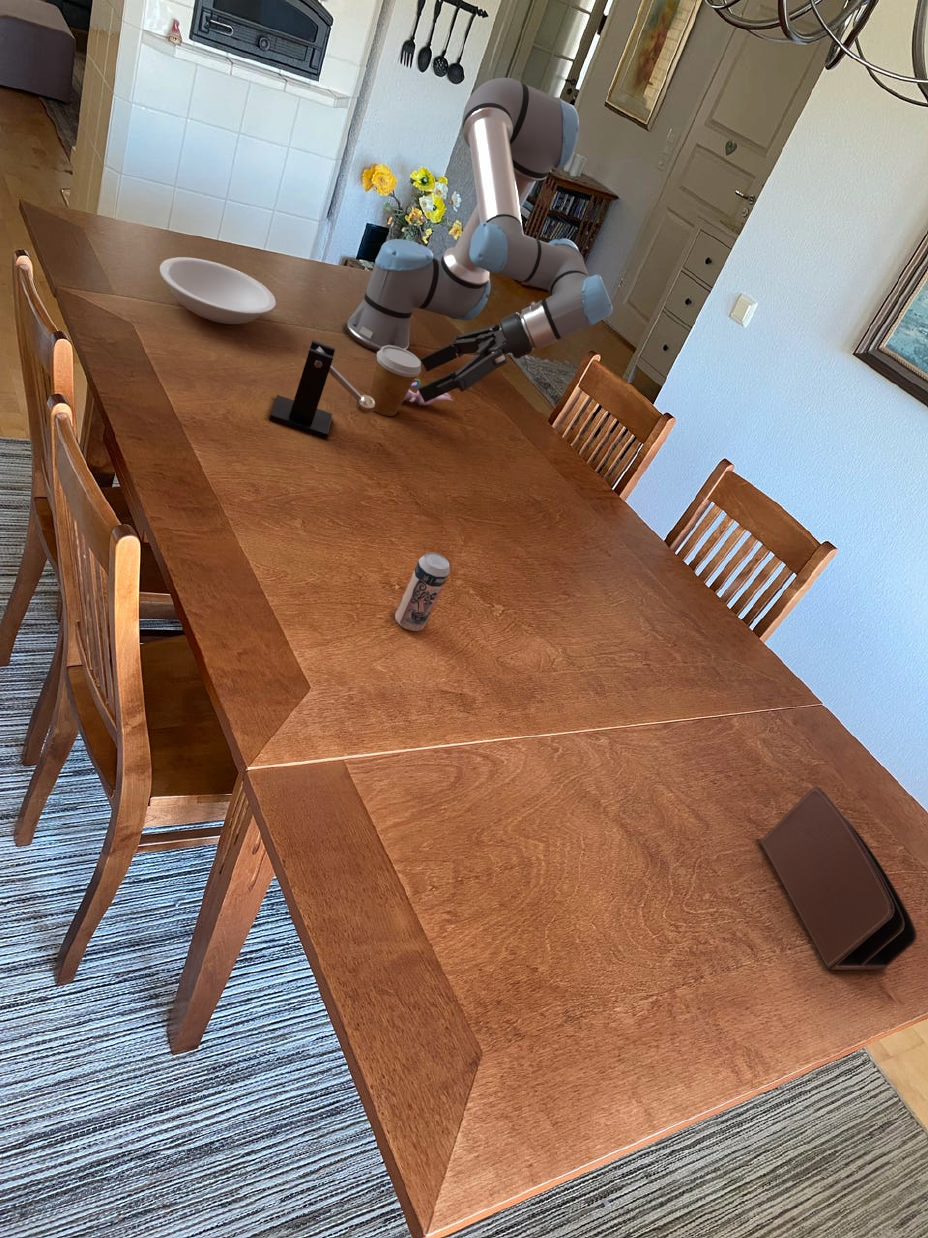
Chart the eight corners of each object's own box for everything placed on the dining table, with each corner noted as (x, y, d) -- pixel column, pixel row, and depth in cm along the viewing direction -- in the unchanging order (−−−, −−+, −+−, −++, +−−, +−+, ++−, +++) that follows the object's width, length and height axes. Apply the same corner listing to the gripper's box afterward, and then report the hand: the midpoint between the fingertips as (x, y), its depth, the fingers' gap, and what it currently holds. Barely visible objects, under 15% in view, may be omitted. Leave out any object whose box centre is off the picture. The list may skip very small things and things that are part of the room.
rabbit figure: (388, 409, 197) (454, 413, 203) (393, 384, 194) (460, 388, 199) (382, 395, 202) (446, 398, 207) (386, 370, 198) (452, 374, 203)
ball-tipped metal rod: (366, 412, 177) (379, 401, 176) (364, 421, 175) (378, 409, 173) (308, 354, 170) (322, 342, 169) (306, 362, 167) (320, 349, 166)
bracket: (330, 418, 181) (353, 350, 173) (326, 439, 174) (349, 369, 166) (275, 399, 178) (296, 329, 170) (268, 420, 171) (289, 347, 163)
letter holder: (827, 971, 117) (897, 908, 109) (757, 842, 132) (815, 778, 124) (883, 971, 121) (955, 910, 113) (810, 845, 136) (869, 783, 128)
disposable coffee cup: (406, 407, 198) (426, 357, 191) (399, 425, 190) (419, 373, 184) (365, 390, 197) (383, 339, 190) (356, 407, 189) (374, 354, 182)
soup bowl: (284, 323, 208) (292, 296, 204) (240, 353, 188) (247, 323, 184) (187, 276, 207) (193, 248, 203) (132, 301, 187) (137, 270, 183)
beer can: (401, 633, 137) (429, 571, 131) (389, 612, 140) (416, 550, 133) (428, 632, 140) (457, 571, 133) (416, 612, 143) (444, 551, 136)
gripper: (515, 288, 174) (415, 336, 180) (522, 338, 155) (410, 391, 160) (531, 323, 179) (433, 369, 184) (540, 377, 159) (430, 426, 165)
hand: (422, 379), depth 172 cm, fingers open, 13 cm apart
